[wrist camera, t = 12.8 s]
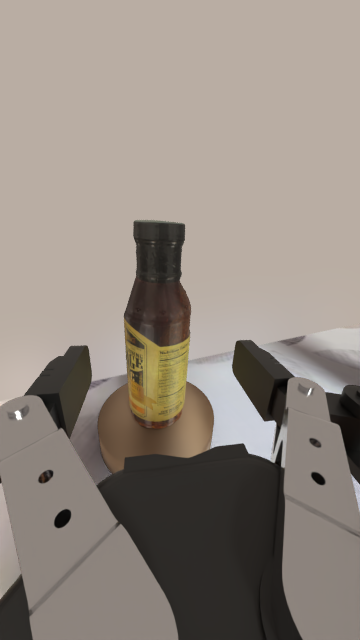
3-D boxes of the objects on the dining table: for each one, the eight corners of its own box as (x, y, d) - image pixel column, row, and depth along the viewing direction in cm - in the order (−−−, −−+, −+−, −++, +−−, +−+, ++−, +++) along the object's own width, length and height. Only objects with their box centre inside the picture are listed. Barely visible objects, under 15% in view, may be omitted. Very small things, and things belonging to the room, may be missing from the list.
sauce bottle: (129, 395, 26) (118, 221, 19) (177, 389, 28) (184, 225, 20) (130, 442, 20) (115, 215, 13) (191, 430, 22) (209, 221, 14)
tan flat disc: (197, 389, 32) (198, 373, 31) (228, 479, 20) (232, 458, 19) (110, 395, 30) (108, 378, 29) (87, 500, 18) (82, 478, 17)
